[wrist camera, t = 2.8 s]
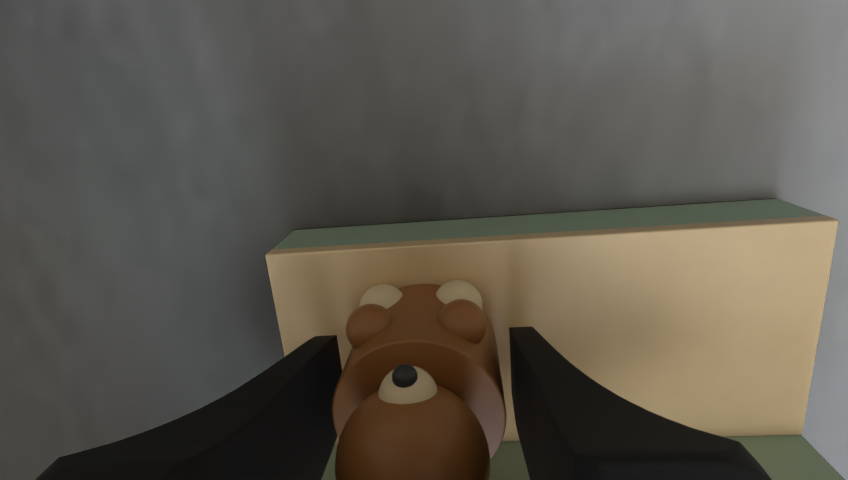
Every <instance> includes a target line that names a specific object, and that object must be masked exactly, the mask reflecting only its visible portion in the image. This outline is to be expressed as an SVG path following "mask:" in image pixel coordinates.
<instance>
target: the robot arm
mask: <svg viewBox="0 0 848 480" xmlns="http://www.w3.org/2000/svg"><path fill="white" fill-rule="evenodd" d="M509 337H510V364H511V390H512V400H513V408H514V415H515V422H516V428H517V432H518V436H519V439H520V443H521V447H522V451H523V455H524V459H525V462H526V466H527V470H528V474H529V478H530V480H772V479H771V478H770V476H769V475H768V474H767V472H766V471H765V470H764V469H763V467H762V466H761V465H760V464H759V462H758V461H757V460H756V459H755V458H754V457H753V456H752V455H751V454H750V453H749V451H748V450H747V449H746V448H745V447H744V446H743V445H742V444H741V443H740V442H739V441H735V440H732V439H728V438H725V437H721V436H718V435H715V434H711V433H708V432H704V431H701V430H697V429H694V428H691V427H688V426H686V425H683V424H680V423H678V422H675V421H672V420H669V419H667V418H664V417H662V416H660V415H657V414H655V413H653V412H650V411H648V410H646V409H644V408H642V407H640V406H638V405H636V404H634V403H632V402H630V401H628V400H626V399H624V398H622V397H620V396H618V395H617V394H615V393H613V392H612V391H610V390H608V389H607V388H605V387H603V386H602V385H600V384H599V383H597V382H596V381H594V380H593V379H591V378H590V377H588V376H587V375H586V374H584V373H583V372H582V371H580V370H579V369H578V368H576V367H575V366H574V365H573V364H571V363H570V362H569V361H568V360H567V359H566V358H565V357H563V356H562V355H561V354H560V353H559V352H558V351H557V350H556V349H555V348H554V347H553V346H552V345H551V344H550V343H548V342H547V341H546V340H545V339H544V338H543V336H542V335H541V334H540V333H539V332H538V331H537V330H535V329H534V328H533V327H532V326H530V327H509ZM341 373H342V366H341V360H340V353H339V347H338V340H337V335H329V336H315V337H313V338H311V339H309V340H308V341H306V342H305V343H303V344H302V345H301V346H299V347H298V348H296V349H295V350H293V351H292V352H291V353H289V354H288V355H287V356H285V357H284V358H282V359H281V360H280V361H278V362H277V363H275V364H274V365H272V366H271V367H270V368H268V369H267V370H265V371H264V372H262V373H261V374H259V375H258V376H256V377H254V378H253V379H251V380H250V381H248V382H247V383H245V384H244V385H242V386H241V387H239V388H237V389H236V390H234V391H232V392H231V393H229V394H227V395H225V396H223V397H222V398H220V399H218V400H216V401H214V402H212V403H210V404H208V405H206V406H204V407H202V408H200V409H198V410H196V411H194V412H191V413H189V414H187V415H185V416H182V417H180V418H178V419H176V420H173V421H171V422H169V423H167V424H164V425H162V426H159V427H156V428H154V429H151V430H149V431H146V432H143V433H140V434H137V435H135V436H132V437H129V438H126V439H123V440H120V441H117V442H113V443H110V444H107V445H103V446H100V447H96V448H92V449H89V450H85V451H82V452H78V453H74V454H71V455H67V456H63V457H59V458H58V459H57V460H56V461H55V462H53V463H52V464H51V465H50V466H49V467H48V468H47V469H46V470H45V471H44V472H43V473H42V474H41V475H40V476H39V477H38V478H37V479H36V480H321V479H322V477H323V474H324V471H325V469H326V466H327V463H328V461H329V458H330V455H331V453H332V450H333V447H334V445H335V442H336V439H337V436H338V435H337V433H336V430H335V426H334V422H333V416H332V400H333V396H334V391H335V388H336V386H337V383H338V381H339V378H340V376H341Z"/></svg>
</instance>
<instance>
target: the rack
mask: <svg viewBox="0 0 848 480" xmlns="http://www.w3.org/2000/svg"><path fill="white" fill-rule="evenodd" d="M838 223H839V221H838V220H837V219H834V218H831V217H828V216H825V215H822V214H819V213H816V212H813V211H811V210H808V209H805V208H802V207H799V206H796V205H794V204H791V203H788V202H785V201H782V200H779V199H765V200H749V201H734V202H719V203H703V204H688V205H673V206H657V207H642V208H627V209H611V210H596V211H581V212H565V213H550V214H534V215H519V216H504V217H488V218H473V219H458V220H442V221H427V222H412V223H396V224H381V225H366V226H350V227H335V228H319V229H304V230H294V231H292V232H291V233H290V234H289V235H288V236H287V237H286V238H284V239H283V240H282V241H281V242H280V243H279V244H278V245H276V246H275V247H274V248H273V249H272V250H270V251H269V252H268V253H267V254H266V255H265V257H266V262H267V267H268V272H269V278H270V283H271V288H272V293H273V298H274V304H275V309H276V314H277V319H278V324H279V329H280V335H281V340H282V345H283V350H284V355H285V356H287V355H288V354H289V353H291V352H292V351H293V350H295V349H296V348H298V347H299V346H301V345H302V344H303V343H305V342H306V341H308V340H309V339H311V338H313V337H315V336H329V335H337V340H338V347H339V353H340V360H341V366H342V371H343V368H344V366H345V364H346V361H347V359H348V356H349V354H350V351H351V349H352V345H351V344H350V343H349V341H348V339H347V336H346V323H347V320H348V318H349V316H350V314H351V313H352V312H353V311H354V310H355V309H356V308H358V307H359V304H360V300H361V298H362V296H363V295H364V293H365V292H366V291H367V290H368V289H369V288H371V287H373V286H375V285H378V284H389V285H392V286H394V287H396V288H398V289H399V288H402V287H405V286H410V285H416V284H433V285H440V286H442V285H443V284H445V283H447V282H449V281H452V280H463V281H466V282H468V283H470V284H472V285H473V286H474V287H475V288H476V289H477V290H478V292H479V293H480V295H481V299H482V310H483V312H484V313H485V314H486V316H487V317H488V319H489V321H490V323H491V325H492V327H493V330H494V333H495V337H496V344H497V351H498V357H499V364H500V371H501V378H502V385H503V391H504V398H505V405H506V413H507V418H506V428H505V433H504V436H503V439H502V442H501V444H500V446H499V448H498V449H497V451H496V453H495V454H494V455H493V457H492V458H491V459H490V478H489V480H530V478H529V474H528V470H527V466H526V462H525V459H524V455H523V451H522V447H521V443H520V439H519V436H518V432H517V428H516V422H515V415H514V408H513V400H512V390H511V364H510V337H509V327H530V326H532V327H533V328H534V329H535V330H537V331H538V332H539V333H540V334H541V335H542V336H543V338H544V339H545V340H546V341H547V342H548V343H550V344H551V345H552V346H553V347H554V348H555V349H556V350H557V351H558V352H559V353H560V354H561V355H562V356H563V357H565V358H566V359H567V360H568V361H569V362H570V363H571V364H573V365H574V366H575V367H576V368H578V369H579V370H580V371H582V372H583V373H584V374H586V375H587V376H588V377H590V378H591V379H593V380H594V381H596V382H597V383H599V384H600V385H602V386H603V387H605V388H607V389H608V390H610V391H612V392H613V393H615V394H617V395H618V396H620V397H622V398H624V399H626V400H628V401H630V402H632V403H634V404H636V405H638V406H640V407H642V408H644V409H646V410H648V411H650V412H653V413H655V414H657V415H660V416H662V417H664V418H667V419H669V420H672V421H675V422H678V423H680V424H683V425H686V426H688V427H691V428H694V429H697V430H701V431H704V432H708V433H711V434H715V435H718V436H721V437H725V438H728V439H732V440H735V441H739V442H740V443H741V444H742V445H743V446H744V447H745V448H746V449H747V450H748V451H749V453H750V454H751V455H752V456H753V457H754V458H755V459H756V460H757V461H758V462H759V464H760V465H761V466H762V467H763V469H764V470H765V471H766V472H767V474H768V475H769V476H770V478H771V479H772V480H845V479H844V478H843V477H842V476H841V475H840V474H839V473H838V472H837V471H836V470H835V469H834V468H833V467H832V466H831V465H830V464H829V463H828V462H827V461H826V460H825V459H824V458H823V457H822V456H821V455H820V454H819V453H818V452H817V451H816V450H815V449H814V448H813V447H812V446H811V445H810V443H809V442H808V441H807V440H806V439H805V438H804V437H803V436H802V435H801V434H802V432H803V426H804V420H805V414H806V408H807V403H808V397H809V391H810V385H811V379H812V374H813V368H814V362H815V356H816V350H817V345H818V339H819V333H820V327H821V321H822V315H823V310H824V304H825V298H826V292H827V286H828V281H829V275H830V269H831V263H832V257H833V252H834V246H835V240H836V234H837V228H838ZM338 442H339V438H338V436H337V439H336V442H335V445H334V447H333V450H332V453H331V455H330V458H329V461H328V463H327V466H326V469H325V471H324V474H323V477H322V479H321V480H336V476H335V458H336V450H337V446H338Z"/></svg>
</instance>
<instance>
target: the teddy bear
mask: <svg viewBox="0 0 848 480" xmlns="http://www.w3.org/2000/svg"><path fill="white" fill-rule="evenodd" d="M346 336H347V339H348V341H349V343H350V344H351V345H352V349H351V351H350V354H349V356H348V359H347V361H346V364H345V366H344V368H343V371H342V373H341V376H340V378H339V381H338V383H337V386H336V388H335V391H334V396H333V400H332V416H333V422H334V426H335V430H336V433H337V435H338V438H339V442H338V446H337V450H336V458H335V476H336V480H489V478H490V459H491V458H492V457H493V455H494V454H495V453H496V451H497V449H498V448H499V446H500V444H501V442H502V439H503V436H504V433H505V428H506V418H507V413H506V405H505V398H504V391H503V385H502V378H501V371H500V364H499V357H498V351H497V344H496V337H495V333H494V330H493V327H492V325H491V323H490V321H489V319H488V317H487V316H486V314H485V313H484V312H483V310H482V299H481V295H480V293H479V292H478V290H477V289H476V288H475V287H474V286H473V285H472V284H470V283H468V282H466V281H463V280H452V281H449V282H447V283H445V284H443V285H442V286H440V285H433V284H416V285H410V286H405V287H402V288H399V289H398V288H396V287H394V286H392V285H389V284H378V285H375V286H373V287H371V288H369V289H368V290H367V291H366V292H365V293H364V295H363V296H362V298H361V300H360V304H359V307H358V308H356V309H355V310H354V311H353V312H352V313H351V314H350V316H349V318H348V320H347V323H346Z"/></svg>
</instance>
